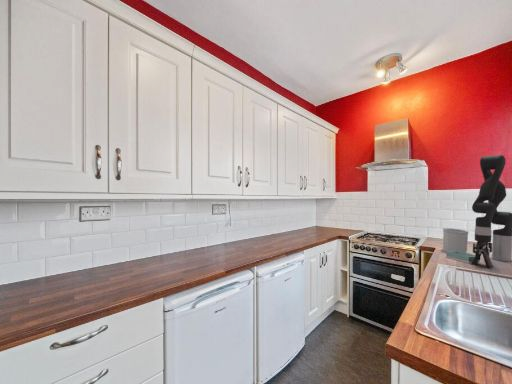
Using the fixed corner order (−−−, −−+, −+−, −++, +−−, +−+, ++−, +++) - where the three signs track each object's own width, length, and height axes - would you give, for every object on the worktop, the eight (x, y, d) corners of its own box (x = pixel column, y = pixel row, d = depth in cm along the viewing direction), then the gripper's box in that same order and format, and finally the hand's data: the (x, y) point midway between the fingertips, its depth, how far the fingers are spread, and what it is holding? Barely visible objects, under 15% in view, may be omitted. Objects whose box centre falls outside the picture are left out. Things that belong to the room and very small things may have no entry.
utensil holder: (473, 255, 169) (474, 231, 169) (453, 254, 170) (453, 231, 169) (456, 249, 184) (457, 228, 184) (437, 249, 184) (438, 227, 184)
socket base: (456, 256, 166) (456, 250, 166) (479, 261, 153) (479, 255, 153) (446, 257, 163) (446, 251, 163) (468, 263, 150) (469, 257, 150)
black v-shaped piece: (493, 267, 143) (493, 248, 143) (490, 268, 140) (490, 249, 140) (474, 263, 151) (474, 244, 151) (470, 264, 148) (471, 246, 147)
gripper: (482, 232, 151) (482, 256, 151) (468, 233, 146) (467, 258, 147) (497, 234, 144) (497, 260, 144) (482, 235, 139) (482, 262, 140)
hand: (482, 259), depth 145 cm, fingers open, 8 cm apart
